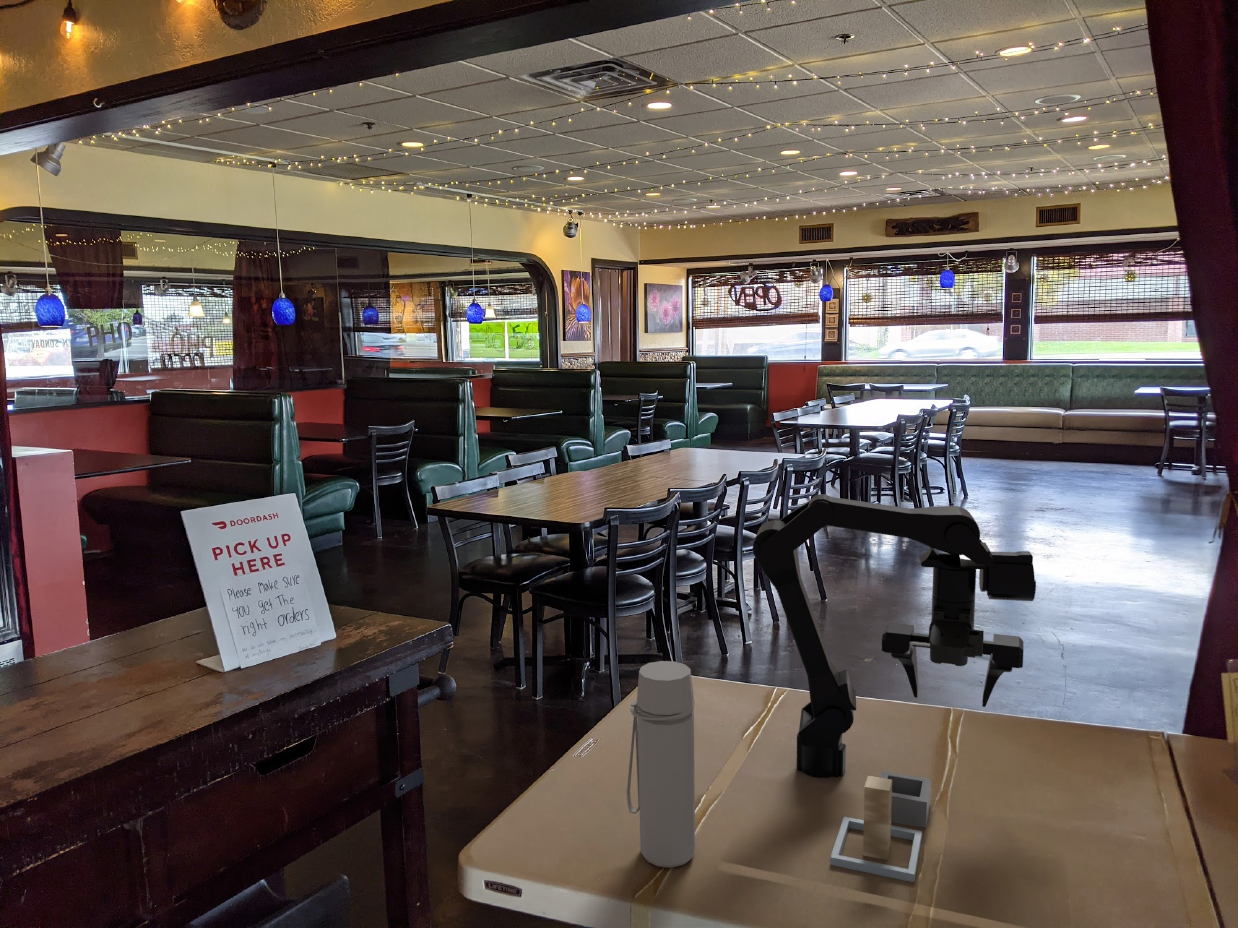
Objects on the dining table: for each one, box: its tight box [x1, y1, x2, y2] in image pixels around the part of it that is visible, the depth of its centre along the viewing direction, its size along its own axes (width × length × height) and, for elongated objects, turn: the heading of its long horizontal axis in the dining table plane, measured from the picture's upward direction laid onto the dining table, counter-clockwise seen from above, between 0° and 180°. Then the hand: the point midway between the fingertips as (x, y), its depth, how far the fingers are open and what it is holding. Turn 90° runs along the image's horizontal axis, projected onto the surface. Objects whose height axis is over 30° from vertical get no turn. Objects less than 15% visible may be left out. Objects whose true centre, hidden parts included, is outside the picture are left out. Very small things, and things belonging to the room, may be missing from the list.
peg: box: [862, 775, 892, 861], centre depth 117 cm, size 3×3×10 cm
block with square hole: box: [879, 770, 932, 829], centre depth 127 cm, size 7×7×4 cm
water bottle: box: [626, 660, 696, 868], centre depth 118 cm, size 9×8×25 cm
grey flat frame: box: [829, 816, 923, 883], centre depth 118 cm, size 10×10×2 cm
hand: (949, 701), depth 133 cm, fingers open, 9 cm apart
